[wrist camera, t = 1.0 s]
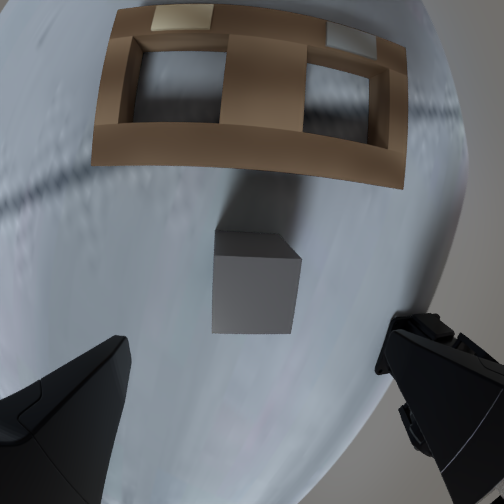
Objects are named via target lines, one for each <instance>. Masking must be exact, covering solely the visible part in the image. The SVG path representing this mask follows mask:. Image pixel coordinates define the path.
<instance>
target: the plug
mask: <svg viewBox="0 0 504 504" xmlns="http://www.w3.org/2000/svg"><path fill="white" fill-rule="evenodd" d="M301 263H302V259H301V258H300V256H299V255H298V254H297V253H296V252H295V251H294V250H293V249H292V248H291V247H290V246H289V245H288V244H287V243H286V242H285V241H284V240H283V239H282V237H281V236H280V235H279V234H271V233H254V232H235V231H215V241H214V263H213V289H212V333H219V334H291V330H292V324H293V318H294V311H295V305H296V298H297V292H298V285H299V278H300V271H301Z"/></svg>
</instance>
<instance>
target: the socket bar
mask: <svg viewBox="0 0 504 504" xmlns="http://www.w3.org/2000/svg"><path fill="white" fill-rule="evenodd" d="M161 51H214V52H227V56H226V64H225V72H224V81H223V91H222V100H221V110H220V121H219V124H218V123H195V122H142V123H133V116H134V107H135V99H136V92H137V86H138V79H139V73H140V67H141V62H142V57H143V53H144V52H161ZM307 63H310V64H315V65H320V66H324V67H328V68H332V69H337V70H340V71H344V72H348V73H352V74H355V75H359V76H362V77H365V78H368V79H369V119H368V138H367V144H363V143H359V142H354V141H349V140H344V139H339V138H334V137H329V136H323V135H317V134H311V133H304V132H302V131H303V117H304V102H305V85H306V66H307ZM407 135H408V76H407V59H406V48H405V47H402V46H400V45H398V44H395V43H393V42H391V41H388V40H386V39H383V38H380V37H378V36H375V35H372V34H370V33H367V32H364V31H361V30H358V29H355V28H352V27H348V26H345V25H342V24H338V23H335V22H331V21H327V20H324V19H320V18H315V17H311V16H307V15H302V14H297V13H292V12H286V11H281V10H274V9H268V8H260V7H251V6H241V5H228V4H165V5H152V6H142V7H134V8H126V9H120V10H118V11H117V14H116V18H115V21H114V24H113V28H112V32H111V35H110V39H109V43H108V47H107V52H106V56H105V61H104V65H103V70H102V75H101V81H100V87H99V93H98V99H97V106H96V114H95V122H94V132H93V143H92V158H91V166H137V165H155V166H198V167H219V168H235V169H249V170H261V171H272V172H282V173H292V174H301V175H309V176H317V177H325V178H332V179H339V180H346V181H352V182H359V183H365V184H371V185H377V186H382V187H389V188H395V189H401V190H403V187H404V178H405V167H406V153H407Z"/></svg>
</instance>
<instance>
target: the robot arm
mask: <svg viewBox="0 0 504 504" xmlns="http://www.w3.org/2000/svg"><path fill="white" fill-rule="evenodd" d="M396 322H397V323H396ZM395 323H396V324H395ZM454 335H455V333H454V331H453V330H452V329H451V328H449V327H448V326H447V325H445V324H444V323H443V322H442V321H440V316H439V315H438V314H431V313H426V314H416V315H412V316H408V317H396V318H394V319H393V320H392V321H391V324H390V327H389V330H388V333H387V336H386V339H385V342H384V345H383V348H382V351H381V354H380V357H379V360H378V363H377V365H376V368H375V373H376V374H377V375H382V374H388V373H390V374H391V375H392V377H393V378H394V379H395V380H396V382H397V385H398V387H399V389H400V391H401V392H402V395H403V397H404V399H405V400H406V403H405V404H404V405H402V406H401V407H400V408H399V409H398V411H399V413H400V415H401V419H402V421H403V424H404V426H405V428H406V431H407V433H408V436H409V438H410V441H411V443H412V445H413V446H414V448H415V449H416V450H417V451H421V452H422V453H423V454H425V455H427V456H429V457H433V458H434V459H435V461H436V464H437V466H438V468H439V470H440V472H441V475H442V477H443V480H444V482H445V484H446V487H447V489H448V492H449V494H450V496H451V498H452V501H453V504H478V503H479V502H480V501H482V500H483V499H484V498H485V497H487V496H488V495H489V494H490V493H491V492H493V491H494V490H495V489H497V491H498V492H499V494H500V496H499V497H498V498H496V499H495V500H494V501H493V502H492V503H491V504H504V365H502V364H499V363H498V362H497V361H496V360H495V359H493V358H492V357H491V356H490V355H489V354H488V353H486V352H485V351H484V350H483V349H481V348H480V347H479V346H478V345H476V344H475V343H474V342H473V341H471V340H470V339H469V338H468V337H466V336H465V335H463V334H462V333H460V334H459V335H458V337H457V339H456V338H455V337H454ZM130 369H131V353H130V348H129V342H128V339H127V337H126V336H119V335H114V336H112V337H111V338H109V339H107V340H106V341H104V342H102V343H101V344H99V345H97V346H96V347H94V348H92V349H90V350H89V351H87V352H85V353H84V354H82V355H80V356H79V357H77V358H75V359H73V360H72V361H70V362H68V363H67V364H65V365H63V366H62V367H60V368H58V369H57V370H55V371H53V372H51V373H50V374H48V375H46V376H45V377H43V378H41V380H38V381H36V382H34V383H33V384H31V385H29V386H27V387H26V388H24V389H22V390H20V391H18V392H16V393H14V394H12V395H10V396H8V397H6V398H4V399H2V400H0V504H101V499H102V494H103V489H104V484H105V479H106V475H107V470H108V466H109V461H110V457H111V453H112V449H113V445H114V441H115V437H116V433H117V429H118V426H119V422H120V418H121V415H122V411H123V407H124V403H125V398H126V392H127V386H128V380H129V374H130Z"/></svg>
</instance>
